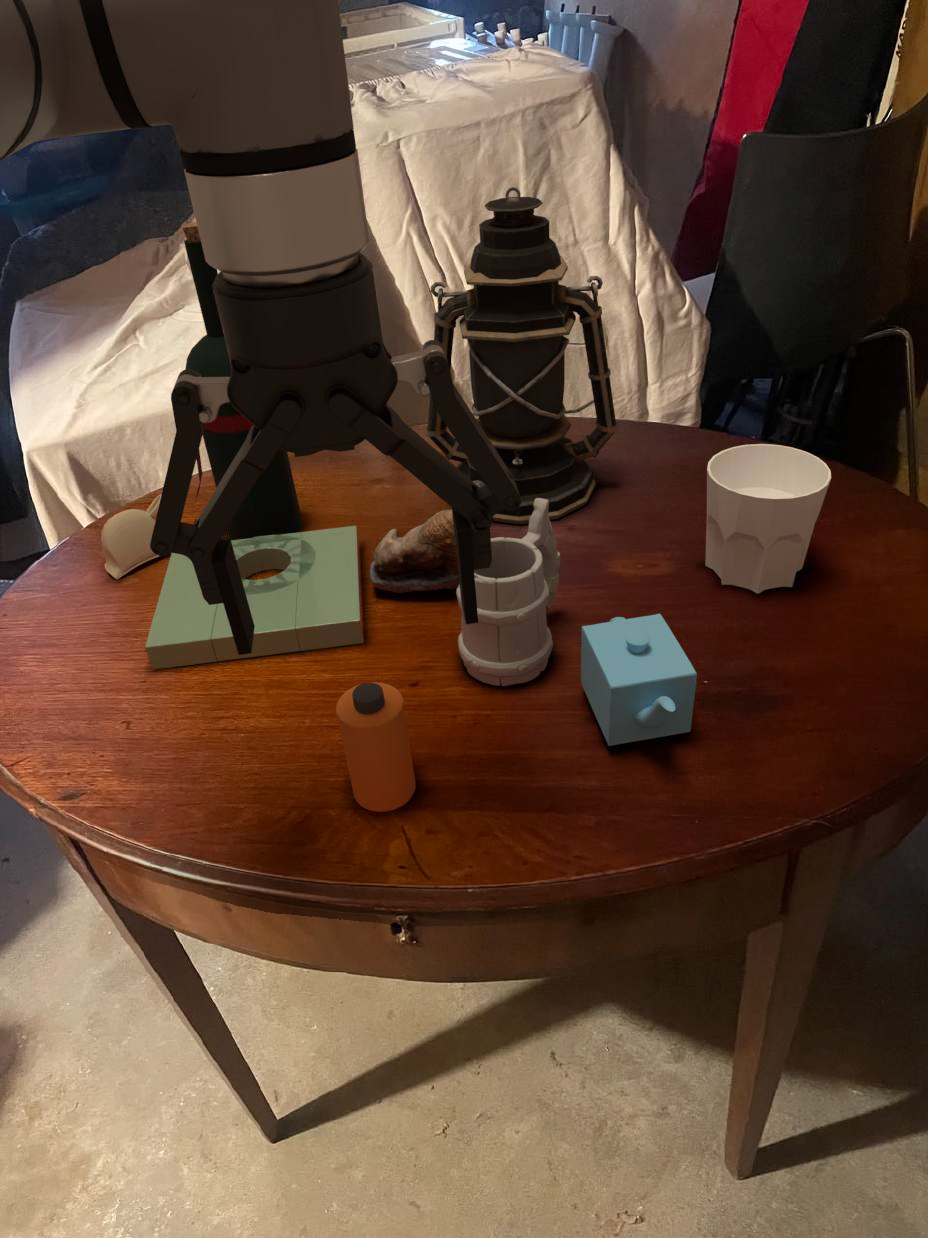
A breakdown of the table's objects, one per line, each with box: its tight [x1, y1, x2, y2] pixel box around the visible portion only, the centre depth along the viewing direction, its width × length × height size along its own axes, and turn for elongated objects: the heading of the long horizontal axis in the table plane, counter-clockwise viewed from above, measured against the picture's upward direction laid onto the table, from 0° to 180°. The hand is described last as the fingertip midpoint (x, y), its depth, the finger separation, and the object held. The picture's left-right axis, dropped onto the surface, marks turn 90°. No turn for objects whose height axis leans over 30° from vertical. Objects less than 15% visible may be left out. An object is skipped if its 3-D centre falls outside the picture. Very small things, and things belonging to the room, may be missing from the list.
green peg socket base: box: [144, 525, 365, 671], centre depth 81 cm, size 18×16×2 cm
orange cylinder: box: [335, 681, 417, 813], centre depth 59 cm, size 4×4×9 cm
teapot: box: [580, 613, 698, 747], centre depth 63 cm, size 12×6×8 cm, turn 10°
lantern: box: [425, 186, 619, 526], centre depth 87 cm, size 20×16×30 cm
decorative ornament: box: [100, 493, 162, 581], centre depth 88 cm, size 4×8×5 cm, turn 133°
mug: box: [455, 498, 561, 687], centre depth 70 cm, size 8×12×12 cm, turn 145°
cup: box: [704, 443, 832, 595], centre depth 78 cm, size 10×10×10 cm
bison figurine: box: [369, 481, 495, 594], centre depth 79 cm, size 12×7×10 cm, turn 91°
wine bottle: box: [182, 221, 304, 540], centre depth 83 cm, size 8×10×30 cm
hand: (358, 626), depth 53 cm, fingers open, 13 cm apart
